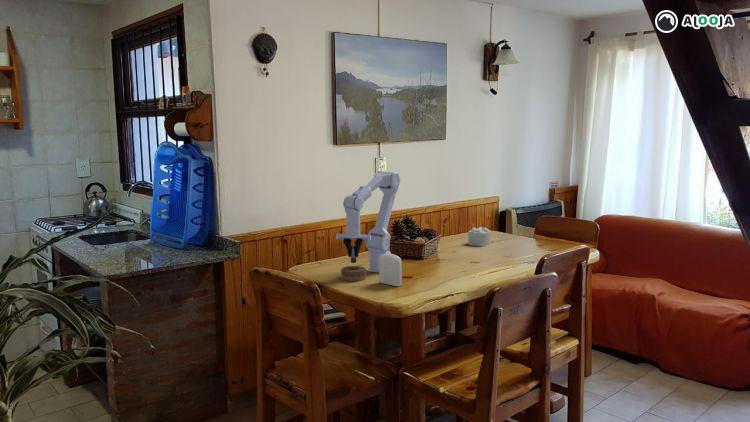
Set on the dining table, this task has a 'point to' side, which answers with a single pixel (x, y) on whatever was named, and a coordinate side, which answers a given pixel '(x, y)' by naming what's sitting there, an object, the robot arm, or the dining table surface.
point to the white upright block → (390, 269)
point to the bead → (353, 273)
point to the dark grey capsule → (353, 253)
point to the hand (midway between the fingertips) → (353, 256)
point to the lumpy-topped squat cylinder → (479, 237)
